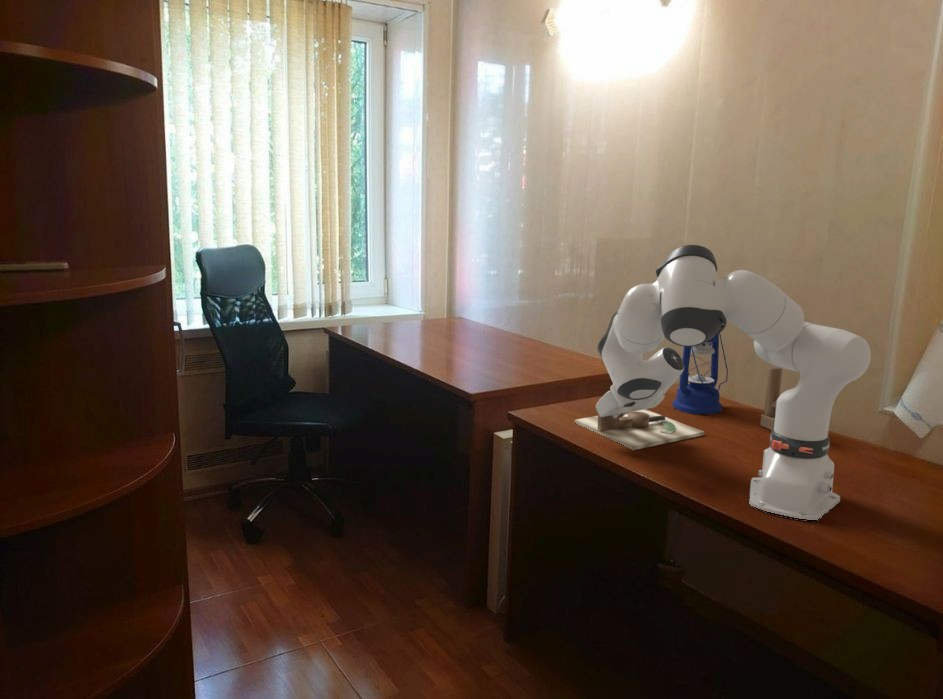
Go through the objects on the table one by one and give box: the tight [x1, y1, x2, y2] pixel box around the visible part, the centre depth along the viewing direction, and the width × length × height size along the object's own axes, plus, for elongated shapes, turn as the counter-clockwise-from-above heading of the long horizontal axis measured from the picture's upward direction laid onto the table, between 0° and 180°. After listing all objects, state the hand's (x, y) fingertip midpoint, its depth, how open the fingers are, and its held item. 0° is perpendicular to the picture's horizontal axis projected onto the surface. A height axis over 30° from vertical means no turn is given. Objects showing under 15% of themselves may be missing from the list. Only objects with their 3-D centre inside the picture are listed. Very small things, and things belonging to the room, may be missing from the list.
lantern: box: [672, 332, 729, 415], centre depth 224 cm, size 17×15×30 cm
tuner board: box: [574, 409, 705, 451], centre depth 206 cm, size 26×26×1 cm
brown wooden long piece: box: [597, 397, 666, 431], centre depth 204 cm, size 22×6×9 cm, turn 111°
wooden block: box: [760, 365, 783, 432], centre depth 203 cm, size 4×11×18 cm, turn 16°
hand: (616, 415), depth 201 cm, fingers closed, pressing on brown wooden long piece
